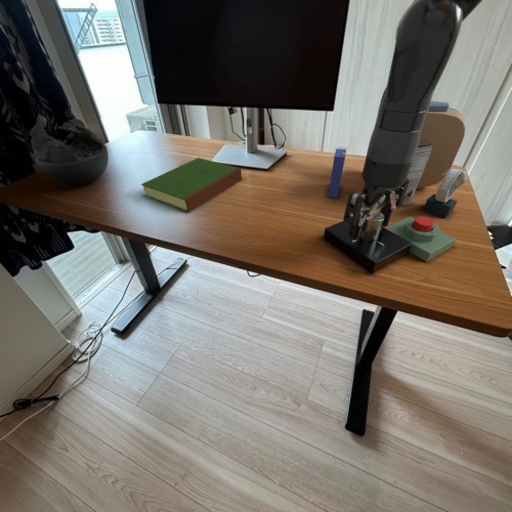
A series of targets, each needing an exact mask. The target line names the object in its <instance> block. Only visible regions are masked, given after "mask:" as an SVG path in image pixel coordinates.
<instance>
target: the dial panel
mask: <svg viewBox="0 0 512 512" xmlns="http://www.w3.org/2000/svg"><path fill="white" fill-rule="evenodd" d="M360 216H361V213H360V215H359V218H360ZM349 229H350V224H349V223H348V222H346V221H344V220H342V221H339V222H336V223H335V224H332V225H329V226H327V227H325V228H324V233H323V238H322V239H323V240H324V241H325V242H327V243H328V244H329V245H331V246H332V247H334V248H335V249H336V250H338V251H339V252H341V253H342V254H343V255H345V256H346V257H347V258H349V260H352V261H353V262H354V263H356V264H357V265H358V266H359V267H361V268H363V269H364V270H366V271H367V272H368V273H369V274H371V275H373V274H375V273H377V272H379V271H381V270H383V269H385V268H387V267H388V266H389V265H391V264H393V263H395V262H397V261H399V260H401V259H403V258H404V257H406V256H408V254H409V253H410V252H409V250H410V248H411V246H412V243H411V242H409V241H407V240H405V239H404V238H402V237H400V236H398V235H397V234H395V233H393V232H391V231H389V230H388V229H386V227H383V226H381V229H380V232H379V235H378V238H377V239H376V240H375V241H364V240H361V239H360V238H359V239H358V240H354V239H352V238H351V237H350V236H349V235H348V233H349Z"/></svg>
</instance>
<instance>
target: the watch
mask: <svg viewBox="0 0 512 512" xmlns="http://www.w3.org/2000/svg"><path fill="white" fill-rule="evenodd" d="M442 176H444V179H443V180H442V181H441V183H440V184H439V187H438V188H437V190H436V193H433V194H431V196H429V197H428V198H427V199H426V201H425V204H424V206H423V208H422V211H424V212H427V213H429V214H432V215H435V216H437V217H440V218H442V219H443V218H444V219H446V218H447V217H449V216H450V214H451V213H452V212H453V211H454V209H455V207H456V205H457V203H458V200H456V199H453V198H452V197H453V195H454V194H455V192H456V190H457V189H460V187H462V186H463V185H464V184H465V183H466V182H467V181H468V179H469V175H468V172H466V171H465V170H464V169H462V168H458V167H451V168H450V169H448V170H447V171H446V172H445V173H443V174H442Z"/></svg>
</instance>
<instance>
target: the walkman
mask: <svg viewBox="0 0 512 512" xmlns="http://www.w3.org/2000/svg"><path fill="white" fill-rule="evenodd" d="M347 149H348V147H346V146H345V147H344V146H336V148H335V152H334V157H333V162H332V168H331V175H330V181H329V187H328V193H327V197H328V198H334V199H335V198H336V199H338V198H339V193H340V188H341V183H342V177H343V172H344V166H345V161H346V155H347Z"/></svg>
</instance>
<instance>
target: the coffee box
mask: <svg viewBox="0 0 512 512" xmlns="http://www.w3.org/2000/svg"><path fill="white" fill-rule="evenodd" d="M433 145H434V143H433V142H430V141H428V140H425V139H423V138H420V140H419V144H418V147H417V150H416V153H415V156H414V159H413V162H412V165H411V168H410V170H409V173H408V176H407V179H409V180H410V181H409V184H408V188H407V191H406V194H405V197H404V200H403V203H402V205H401V206H405V205H410V204H411V205H412V201H413V198H414V196H415V194H416V191H417V189H416V188H417V186H418V183H419V181H420V178H421V176H422V173H423V171H424V168H425V166H426V163H427V161H428V158H429V155H430V153H431V150H432V148H433ZM395 198H397V199H398V198H399V195H397V194H396V196H395Z"/></svg>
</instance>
